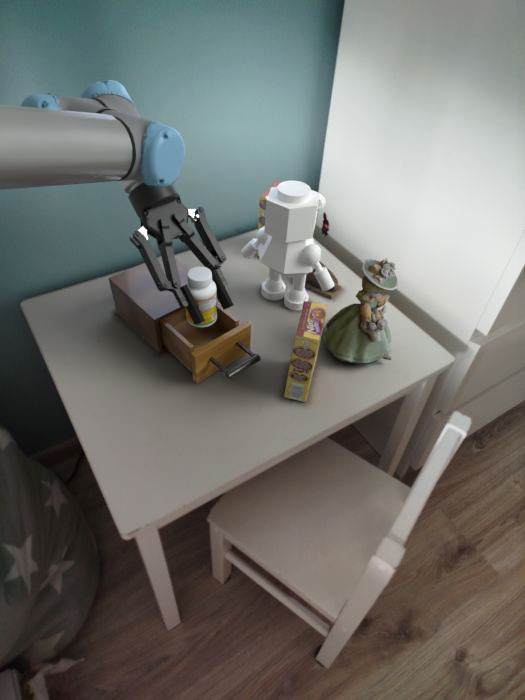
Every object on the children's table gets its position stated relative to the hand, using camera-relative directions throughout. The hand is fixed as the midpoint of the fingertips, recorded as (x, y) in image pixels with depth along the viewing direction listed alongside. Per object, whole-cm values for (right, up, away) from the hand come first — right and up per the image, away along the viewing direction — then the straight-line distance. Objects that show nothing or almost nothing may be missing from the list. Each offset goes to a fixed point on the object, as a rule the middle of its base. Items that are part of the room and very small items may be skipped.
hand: (214, 314), depth 78 cm
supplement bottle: (-3, 0, +4) cm, 5 cm away
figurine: (+26, -6, +13) cm, 30 cm away
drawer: (-2, -7, +9) cm, 11 cm away
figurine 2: (+19, +9, +27) cm, 34 cm away
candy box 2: (+15, -12, +6) cm, 20 cm away
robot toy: (+13, +5, +23) cm, 27 cm away
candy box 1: (+10, +18, +36) cm, 41 cm away
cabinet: (-11, +1, +16) cm, 20 cm away
